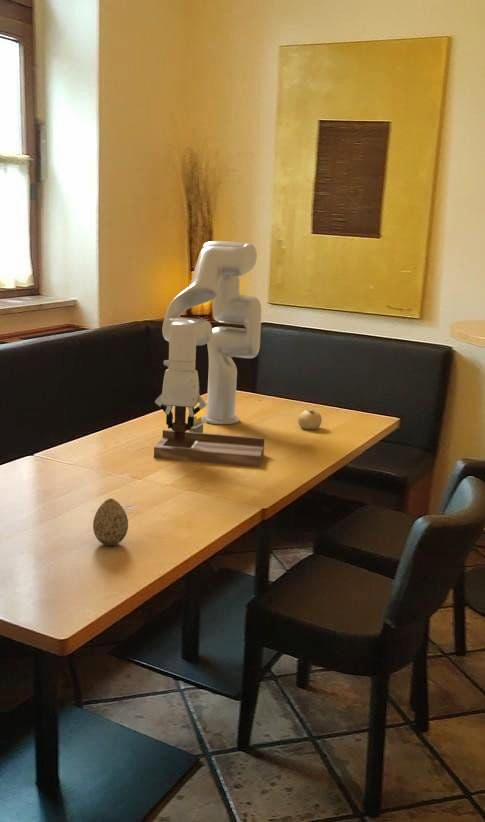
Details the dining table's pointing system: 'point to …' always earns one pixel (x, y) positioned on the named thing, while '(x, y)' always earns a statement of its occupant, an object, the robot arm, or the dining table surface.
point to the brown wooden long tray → (211, 448)
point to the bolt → (179, 424)
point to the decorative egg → (110, 523)
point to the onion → (309, 419)
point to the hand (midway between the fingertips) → (179, 427)
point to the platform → (198, 425)
